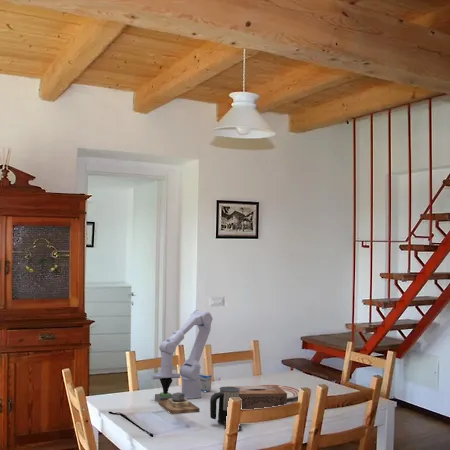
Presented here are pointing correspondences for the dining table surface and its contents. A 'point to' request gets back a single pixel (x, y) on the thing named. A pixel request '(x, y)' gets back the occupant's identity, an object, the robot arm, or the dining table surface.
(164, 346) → the robot arm
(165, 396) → the button
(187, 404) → the brown wooden base
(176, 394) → the block
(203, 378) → the medicine box
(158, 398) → the button housing
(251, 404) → the tissue box cover
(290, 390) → the dinner plate
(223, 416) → the milk frother
